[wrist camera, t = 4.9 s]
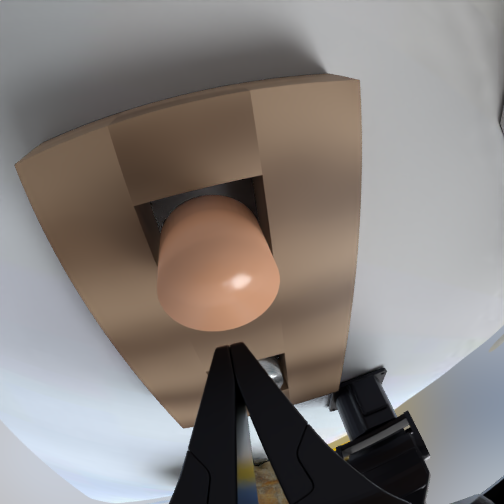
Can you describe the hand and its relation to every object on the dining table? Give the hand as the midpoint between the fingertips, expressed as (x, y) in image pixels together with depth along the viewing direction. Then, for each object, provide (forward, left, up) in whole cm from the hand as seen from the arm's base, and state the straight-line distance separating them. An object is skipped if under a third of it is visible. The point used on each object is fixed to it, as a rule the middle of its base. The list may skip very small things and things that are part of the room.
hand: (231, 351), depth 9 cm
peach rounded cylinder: (0, 0, -6) cm, 6 cm away
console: (-6, 0, -9) cm, 10 cm away
